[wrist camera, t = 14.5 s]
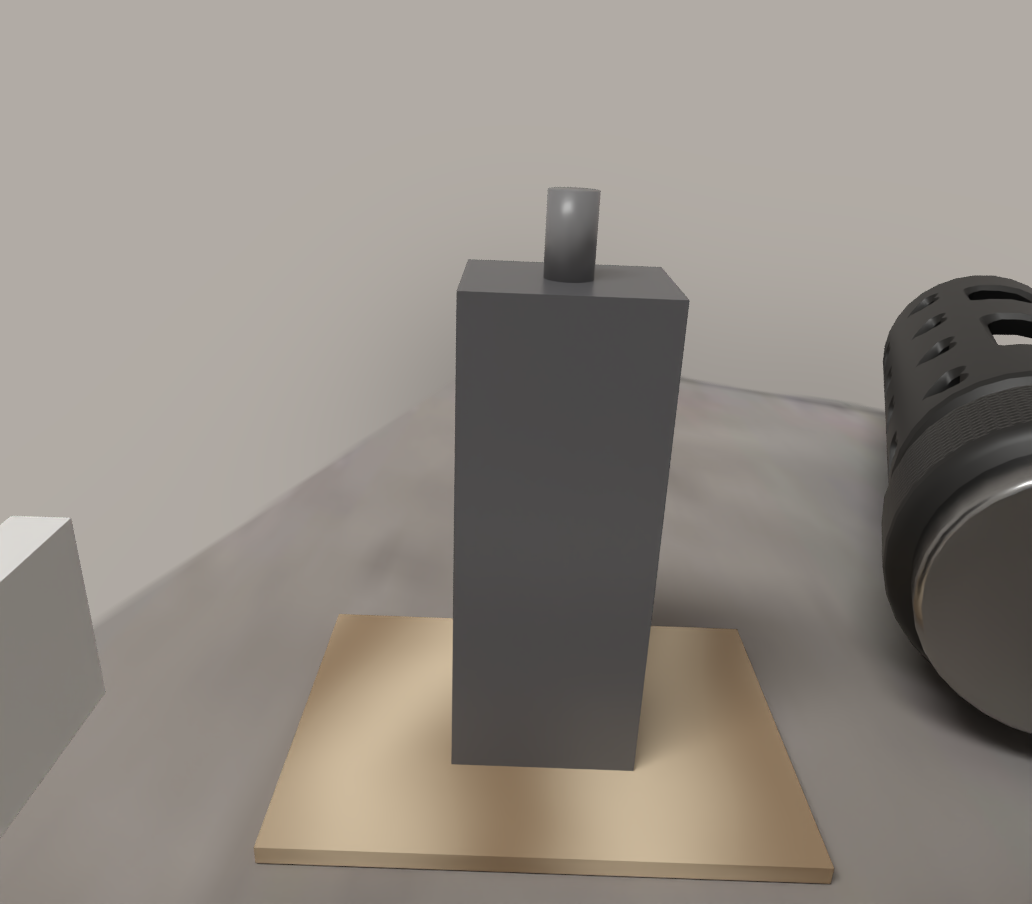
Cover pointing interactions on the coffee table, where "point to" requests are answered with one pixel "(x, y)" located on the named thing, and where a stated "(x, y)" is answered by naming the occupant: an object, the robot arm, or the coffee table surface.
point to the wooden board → (539, 773)
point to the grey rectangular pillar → (559, 496)
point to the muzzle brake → (963, 489)
